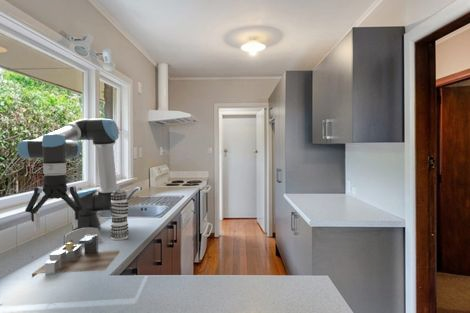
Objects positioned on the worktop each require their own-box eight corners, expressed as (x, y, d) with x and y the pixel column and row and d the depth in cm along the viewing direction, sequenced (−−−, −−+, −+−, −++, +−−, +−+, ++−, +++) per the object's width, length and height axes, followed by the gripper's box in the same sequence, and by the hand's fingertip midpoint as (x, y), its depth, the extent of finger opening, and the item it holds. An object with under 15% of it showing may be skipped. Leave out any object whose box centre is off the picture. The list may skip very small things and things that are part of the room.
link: (64, 255, 121) (64, 241, 121) (81, 254, 122) (81, 240, 122) (39, 275, 102) (39, 259, 102) (60, 274, 103) (59, 258, 103)
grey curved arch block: (66, 253, 126) (63, 231, 128) (63, 254, 129) (60, 233, 131) (104, 244, 139) (100, 224, 141) (100, 245, 142) (97, 225, 144)
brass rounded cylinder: (68, 259, 120) (67, 242, 119) (75, 259, 120) (74, 241, 120) (64, 262, 117) (64, 244, 116) (71, 261, 117) (71, 244, 117)
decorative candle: (110, 241, 142) (109, 192, 141) (110, 236, 151) (109, 190, 150) (129, 238, 146) (128, 191, 145) (128, 233, 155) (127, 189, 154)
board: (59, 256, 123) (59, 253, 123) (120, 253, 126) (120, 250, 126) (32, 276, 104) (32, 273, 104) (105, 273, 107) (105, 269, 106)
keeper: (86, 255, 124) (86, 234, 124) (98, 254, 125) (97, 234, 125) (78, 262, 116) (78, 240, 116) (91, 262, 117) (90, 240, 117)
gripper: (12, 175, 102) (14, 233, 102) (85, 174, 106) (87, 229, 106) (25, 174, 109) (26, 227, 110) (92, 172, 113) (94, 224, 114)
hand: (56, 228), depth 108 cm, fingers open, 13 cm apart
